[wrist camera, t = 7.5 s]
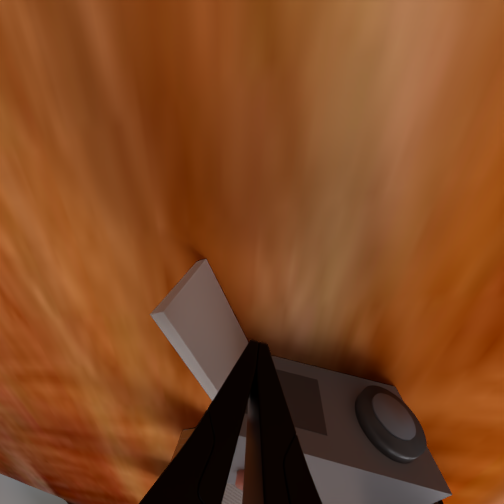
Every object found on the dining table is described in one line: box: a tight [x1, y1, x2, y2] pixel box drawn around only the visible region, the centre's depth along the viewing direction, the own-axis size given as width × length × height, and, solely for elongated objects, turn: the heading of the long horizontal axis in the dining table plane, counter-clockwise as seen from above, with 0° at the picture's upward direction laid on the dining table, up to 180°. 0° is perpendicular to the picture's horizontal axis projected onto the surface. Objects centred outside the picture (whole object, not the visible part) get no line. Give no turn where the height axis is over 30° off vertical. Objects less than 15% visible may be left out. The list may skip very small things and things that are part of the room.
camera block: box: [227, 356, 452, 504], centre depth 15 cm, size 14×10×7 cm
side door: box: [150, 259, 249, 401], centre depth 13 cm, size 10×1×6 cm, turn 20°
